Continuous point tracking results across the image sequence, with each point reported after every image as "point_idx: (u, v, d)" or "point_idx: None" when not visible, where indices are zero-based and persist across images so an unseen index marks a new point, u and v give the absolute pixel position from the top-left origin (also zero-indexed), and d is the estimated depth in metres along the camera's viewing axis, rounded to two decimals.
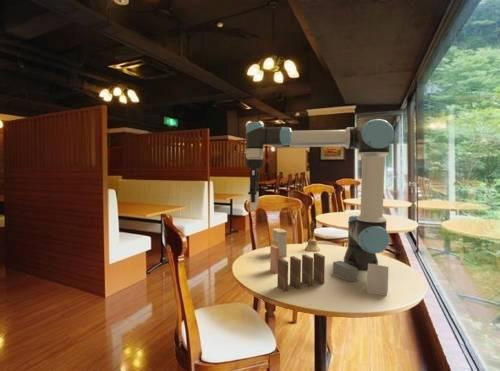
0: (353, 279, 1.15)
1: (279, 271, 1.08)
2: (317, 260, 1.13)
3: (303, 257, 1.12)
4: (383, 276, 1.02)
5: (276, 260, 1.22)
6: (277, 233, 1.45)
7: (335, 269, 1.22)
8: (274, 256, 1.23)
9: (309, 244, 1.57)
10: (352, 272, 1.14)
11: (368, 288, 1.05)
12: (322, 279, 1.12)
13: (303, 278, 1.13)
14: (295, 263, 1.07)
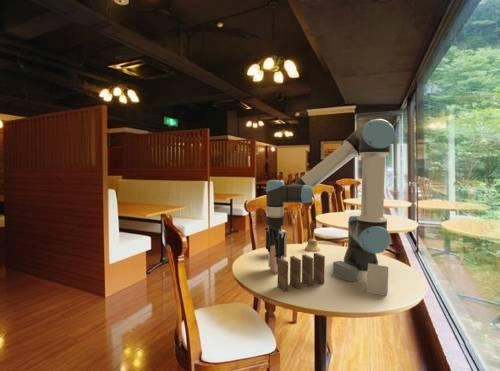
0: (353, 279, 1.15)
1: (279, 271, 1.08)
2: (317, 260, 1.13)
3: (303, 257, 1.12)
4: (383, 276, 1.02)
5: None
6: None
7: (335, 269, 1.22)
8: (274, 256, 1.23)
9: (309, 244, 1.57)
10: (352, 272, 1.14)
11: (368, 288, 1.05)
12: (322, 279, 1.12)
13: (303, 278, 1.13)
14: (295, 263, 1.07)
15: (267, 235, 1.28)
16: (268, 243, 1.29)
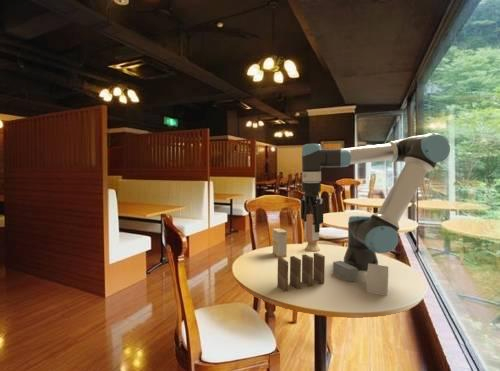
0: (353, 279, 1.15)
1: (279, 271, 1.08)
2: (317, 260, 1.13)
3: (303, 257, 1.12)
4: (383, 276, 1.02)
5: None
6: (277, 233, 1.45)
7: (335, 269, 1.22)
8: (311, 224, 1.16)
9: (309, 244, 1.57)
10: (352, 272, 1.14)
11: (368, 288, 1.05)
12: (322, 279, 1.12)
13: (303, 278, 1.13)
14: (295, 263, 1.07)
15: (302, 204, 1.21)
16: None
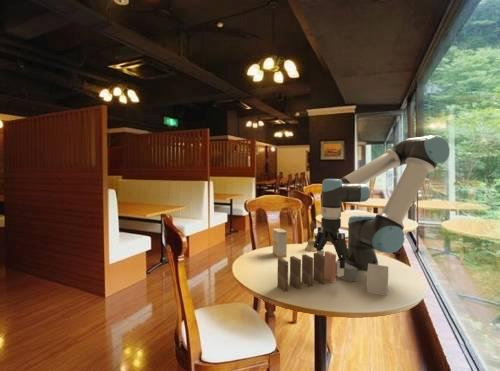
0: (353, 279, 1.15)
1: (279, 271, 1.08)
2: (317, 260, 1.13)
3: (303, 257, 1.12)
4: (383, 276, 1.02)
5: (333, 268, 1.13)
6: (277, 233, 1.45)
7: None
8: (330, 263, 1.14)
9: (309, 244, 1.57)
10: (352, 272, 1.14)
11: (368, 288, 1.05)
12: (322, 279, 1.12)
13: (303, 278, 1.13)
14: (295, 263, 1.07)
15: (319, 235, 1.20)
16: (317, 242, 1.22)
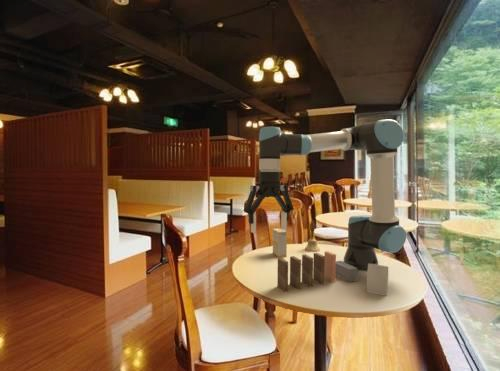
0: (353, 279, 1.15)
1: (279, 271, 1.08)
2: (317, 260, 1.13)
3: (303, 257, 1.12)
4: (383, 276, 1.02)
5: (333, 268, 1.13)
6: (277, 233, 1.45)
7: None
8: (330, 263, 1.14)
9: (309, 244, 1.57)
10: (352, 272, 1.14)
11: (368, 288, 1.05)
12: (322, 279, 1.12)
13: (303, 278, 1.13)
14: (295, 263, 1.07)
15: None
16: (286, 203, 1.06)
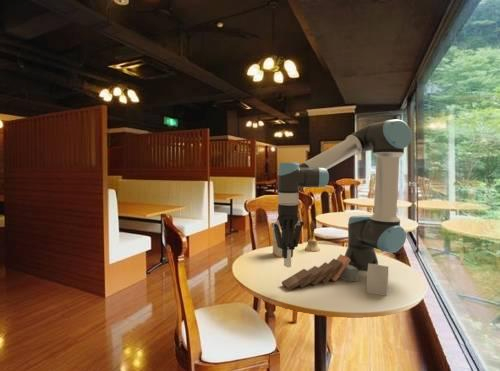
0: (353, 279, 1.15)
1: (296, 275, 1.11)
2: (334, 264, 1.16)
3: (325, 264, 1.17)
4: (383, 276, 1.02)
5: (341, 268, 1.15)
6: None
7: None
8: None
9: (309, 244, 1.57)
10: (352, 272, 1.14)
11: (368, 288, 1.05)
12: (327, 278, 1.12)
13: None
14: (318, 270, 1.12)
15: (295, 228, 1.09)
16: None
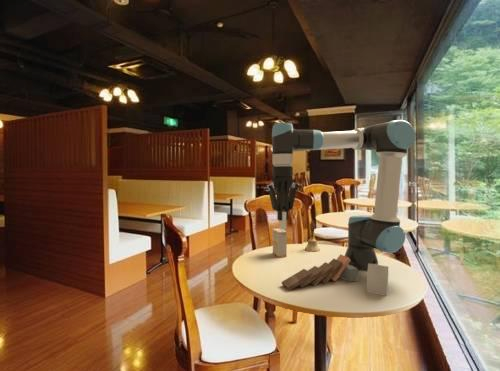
0: (353, 279, 1.15)
1: (296, 275, 1.11)
2: (334, 264, 1.16)
3: (325, 263, 1.17)
4: (383, 276, 1.02)
5: (341, 268, 1.15)
6: (277, 233, 1.45)
7: None
8: None
9: (309, 244, 1.57)
10: (352, 272, 1.14)
11: (368, 288, 1.05)
12: (327, 278, 1.12)
13: None
14: (318, 270, 1.12)
15: (290, 191, 1.09)
16: None
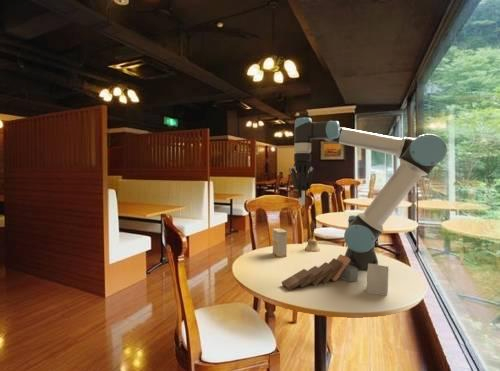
0: (353, 279, 1.15)
1: (296, 275, 1.11)
2: (334, 263, 1.16)
3: (325, 263, 1.17)
4: (383, 276, 1.02)
5: (341, 268, 1.15)
6: (277, 233, 1.45)
7: None
8: None
9: (309, 244, 1.57)
10: (352, 272, 1.14)
11: (368, 288, 1.05)
12: (327, 278, 1.12)
13: None
14: (318, 270, 1.12)
15: (308, 174, 1.32)
16: (307, 182, 1.32)
